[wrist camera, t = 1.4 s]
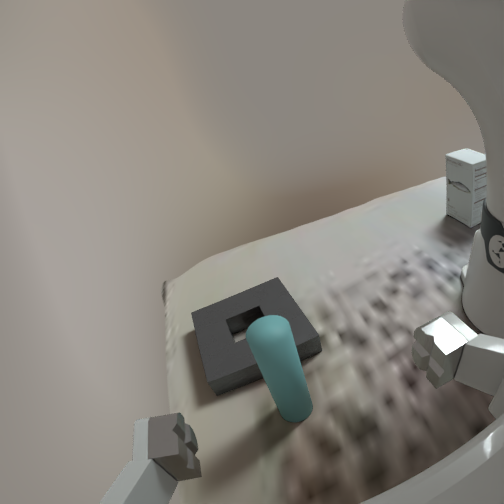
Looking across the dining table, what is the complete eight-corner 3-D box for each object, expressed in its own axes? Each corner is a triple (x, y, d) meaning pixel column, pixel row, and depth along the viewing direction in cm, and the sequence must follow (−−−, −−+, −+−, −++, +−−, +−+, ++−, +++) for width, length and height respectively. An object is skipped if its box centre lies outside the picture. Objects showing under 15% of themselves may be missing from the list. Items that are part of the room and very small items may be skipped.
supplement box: (445, 214, 53) (443, 153, 46) (467, 204, 53) (466, 147, 47) (470, 229, 46) (472, 164, 40) (491, 217, 47) (494, 156, 40)
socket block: (281, 292, 48) (277, 277, 47) (322, 350, 36) (319, 335, 35) (198, 326, 47) (191, 312, 45) (216, 395, 35) (207, 382, 33)
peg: (304, 390, 32) (280, 309, 26) (317, 413, 29) (297, 335, 23) (275, 403, 32) (240, 326, 25) (286, 427, 29) (253, 355, 22)
